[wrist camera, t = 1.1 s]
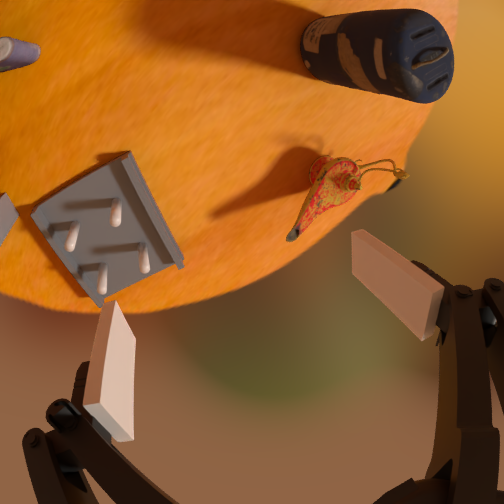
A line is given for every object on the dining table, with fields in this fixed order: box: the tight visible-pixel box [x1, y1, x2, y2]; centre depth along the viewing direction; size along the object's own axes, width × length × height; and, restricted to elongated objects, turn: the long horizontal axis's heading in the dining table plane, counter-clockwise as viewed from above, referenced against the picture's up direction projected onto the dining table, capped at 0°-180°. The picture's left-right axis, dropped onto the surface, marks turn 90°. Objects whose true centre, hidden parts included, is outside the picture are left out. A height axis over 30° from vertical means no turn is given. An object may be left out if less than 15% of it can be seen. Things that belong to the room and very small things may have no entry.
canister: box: [300, 9, 454, 104], centre depth 25 cm, size 10×10×18 cm
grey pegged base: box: [30, 151, 184, 308], centre depth 33 cm, size 16×14×6 cm
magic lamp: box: [286, 156, 409, 242], centre depth 37 cm, size 7×18×11 cm, turn 123°
